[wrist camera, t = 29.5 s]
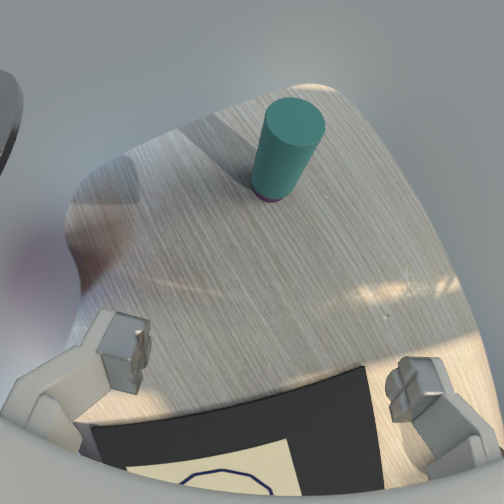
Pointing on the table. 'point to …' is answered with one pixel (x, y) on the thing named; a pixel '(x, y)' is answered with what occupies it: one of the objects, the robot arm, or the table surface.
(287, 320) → the table surface
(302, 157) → the cylinder
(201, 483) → the desk mat
